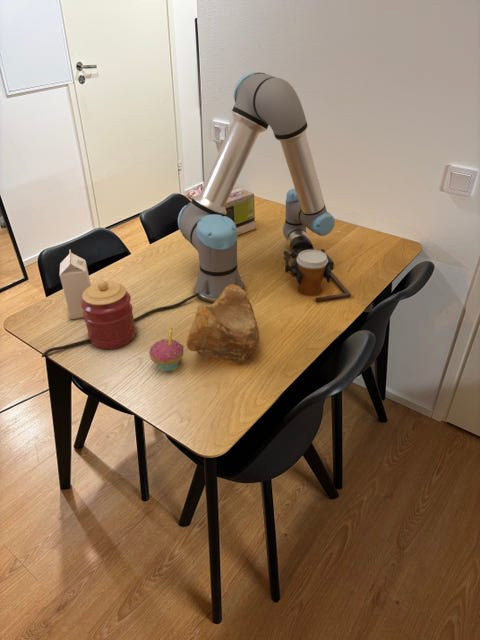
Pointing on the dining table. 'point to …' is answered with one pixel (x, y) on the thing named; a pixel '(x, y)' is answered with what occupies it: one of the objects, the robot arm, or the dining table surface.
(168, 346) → the cupcake
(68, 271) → the milk carton
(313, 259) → the disposable coffee cup
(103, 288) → the kitchen canister
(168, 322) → the dining table surface
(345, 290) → the walnut frame
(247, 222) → the tea box
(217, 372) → the dining table surface
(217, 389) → the dining table surface
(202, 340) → the rough brown rock
